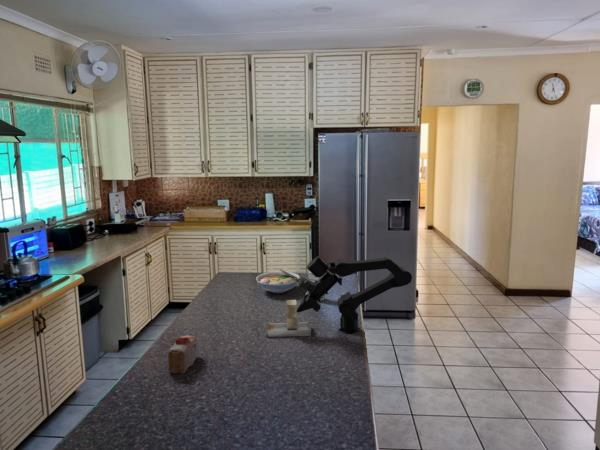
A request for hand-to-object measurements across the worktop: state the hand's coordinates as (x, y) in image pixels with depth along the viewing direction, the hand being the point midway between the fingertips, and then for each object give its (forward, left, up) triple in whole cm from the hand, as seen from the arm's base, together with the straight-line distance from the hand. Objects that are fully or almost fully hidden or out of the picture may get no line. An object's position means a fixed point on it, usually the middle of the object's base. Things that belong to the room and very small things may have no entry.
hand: (297, 311), depth 183 cm
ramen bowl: (+40, -35, -9) cm, 53 cm away
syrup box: (+16, -36, -9) cm, 40 cm away
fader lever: (+2, +1, -7) cm, 8 cm away
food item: (+16, +45, -9) cm, 48 cm away
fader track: (+3, +2, -9) cm, 9 cm away
